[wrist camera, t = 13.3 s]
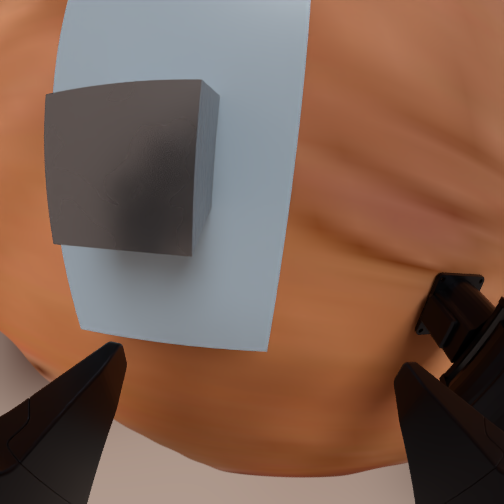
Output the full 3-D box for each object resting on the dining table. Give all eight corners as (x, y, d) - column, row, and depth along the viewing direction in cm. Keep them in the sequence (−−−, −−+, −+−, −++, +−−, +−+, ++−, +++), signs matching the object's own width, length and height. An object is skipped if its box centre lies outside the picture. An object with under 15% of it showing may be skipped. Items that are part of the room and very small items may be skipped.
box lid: (310, -42, 8) (313, -49, 8) (266, 342, 18) (266, 351, 17) (84, -28, 8) (77, -33, 7) (85, 321, 17) (81, 328, 16)
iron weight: (220, 95, 11) (201, 79, 6) (211, 207, 13) (191, 256, 9) (111, 98, 11) (45, 94, 6) (110, 201, 13) (53, 244, 8)
